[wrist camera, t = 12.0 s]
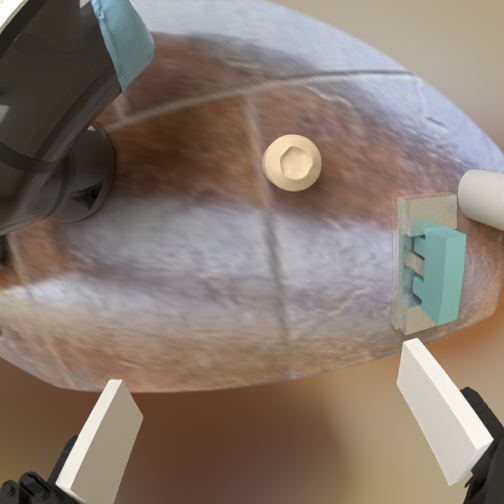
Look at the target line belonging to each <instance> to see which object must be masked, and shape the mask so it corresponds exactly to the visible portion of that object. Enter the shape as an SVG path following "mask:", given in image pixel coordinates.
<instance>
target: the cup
mask: <svg viewBox="0 0 504 504" xmlns="http://www.w3.org/2000/svg"><path fill="white" fill-rule="evenodd" d="M458 202H459V206H460V209H461V211H462V212H463V214H464V215H465V216H466V217H468V218H470V219H473V220H475V221H478V222H481V223H484V224H486V225H489V226H492V227H494V228H497V229H500V230H502V231H504V173H498V172H491V171H484V170H475V169H472V170H469V171H467V172H466V173H465V174H464V175H463V177H462V179H461V181H460V184H459V188H458Z"/></svg>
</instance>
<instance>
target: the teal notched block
mask: <svg viewBox="0 0 504 504" xmlns="http://www.w3.org/2000/svg"><path fill="white" fill-rule="evenodd" d="M465 249H466V235H465V234H463V233H461V232H458V231H456V230H454V229H451V228H449V227H446V226H440V227H434V228H428V229H425V234H424V235H418V236H414V251H415V252H416V253H418V254H419V255H421V256H423V257H424V258H425V263H424V278H423V277H422V276H420V275H419V276H415V277H413V293H414V294H416V295H417V296H418V297H419V298H420V299H421V300H422V305H421V310H422V311H423V312H424V313H425V314H426V315H427V316H428V317H429V318H430V319H431V320H432V321H433V322H434V323H435V324H436V325H437V326H439V325H442V324H445V323H448V322H451V321H454V320H456V319H457V315H458V309H459V303H460V296H461V289H462V281H463V273H464V262H465Z"/></svg>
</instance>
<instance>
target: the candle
mask: <svg viewBox="0 0 504 504" xmlns="http://www.w3.org/2000/svg"><path fill="white" fill-rule="evenodd" d="M321 167H322V160H321V156H320V153H319V151H318V149H317V147H316V146H315V145H314V144H313V143H312V142H311V141H310V140H309V139H307V138H305V137H303V136H299V135H286V136H282V137H280V138H278V139H277V140H275V141H274V142H273V143H272V144H271V145H270V146H269V147H268V148H267V149H266V151H265V153H264V154H263V157H262V169H263V172H264V174H265V175H266V177H267V178H268V179H269V180H270V181H271V182H272V183H274V184H275V185H276V186H278V187H279V188H281V189H284V190H287V191H301V190H304V189H306V188H308V187H310V186H311V185H312V184H313V183H314V182H315V181H316V180H317V178H318V177H319V175H320V172H321Z"/></svg>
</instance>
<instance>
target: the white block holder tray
mask: <svg viewBox="0 0 504 504" xmlns="http://www.w3.org/2000/svg"><path fill="white" fill-rule="evenodd" d="M390 200H391V216H392V241H393V282H392V307H391V322H390V324H391V325H392V326H393V328H394V329H395V330H397V329H400V330H401V331H402V332H403V333H404V335H408V334H412V333H415V332H418V331H421V330H424V329H428V328H431V327H434V326H437V325H436V324H435V323H434V322H433V321H432V320H431V319H430V318H429V317H428V316H427V315H426V314H425V313H424V312H423V311H422V310H421V305H422V300H421V299H420V298H419V297H418V296H417V295H416V294H414V293H413V277H415V276H419V275H420V276H422V277H423V278H424V263H425V258H424V257H423V256H421V255H419V254H418V253H416V252H415V251H414V236H418V235H424V234H425V229H428V228H434V227H440V226H446V227H449V228H451V229H457V195H455V194H452V193H451V192H447V191H439V192H430V193H420V194H411V195H402V196H394V197H390Z"/></svg>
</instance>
